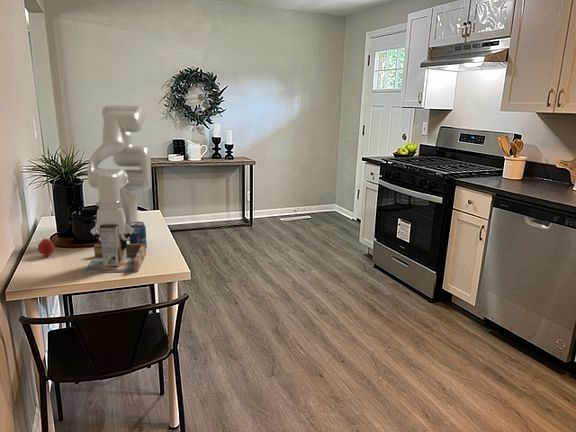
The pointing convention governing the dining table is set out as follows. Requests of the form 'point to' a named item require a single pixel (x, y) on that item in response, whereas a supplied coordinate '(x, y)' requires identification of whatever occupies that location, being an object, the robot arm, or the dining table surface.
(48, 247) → the onion
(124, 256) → the coffee box
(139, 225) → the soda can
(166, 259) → the dining table surface
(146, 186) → the robot arm
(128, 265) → the corner arena
